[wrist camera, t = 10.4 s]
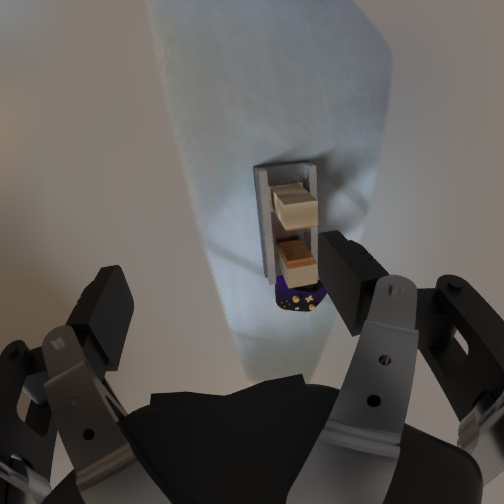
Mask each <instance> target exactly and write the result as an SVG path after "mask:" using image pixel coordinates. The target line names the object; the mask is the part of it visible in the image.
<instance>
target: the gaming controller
mask: <svg viewBox="0 0 504 504" xmlns="http://www.w3.org/2000/svg"><path fill="white" fill-rule="evenodd" d="M326 294H327V291H326V290H325V288H324V286H323V285H322V283H321V281H320V280H319V281H318V282H317V284H316V285H315V287H314V288H313V290H311V289H303V288H296V287H294V288H288V286H287V284H286V281H285V279H284V277H283V275H279V276H277V277H276V284H275V295H276V303H277V306H278V307H279V308H280V309H282V310H285V311H286V310H292V311H302V312H309V311H312V310H314V309H315V308H316V306H317V305H318V304H319V303H320V302H321V301H322V299H323V298H324V297H325V295H326Z"/></svg>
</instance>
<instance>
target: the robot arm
mask: <svg viewBox="0 0 504 504" xmlns="http://www.w3.org/2000/svg"><path fill="white" fill-rule="evenodd" d="M318 274H319V278H320V281H321V283H322V285H323V286H324V288H325V290H326V291H327V293H328V295H329V296H330V298H331V300H332V302H333V303H334V305H335V307H336V309H337V310H338V312H339V314H340V315H341V317H342V319H343V321H344V322H345V324H346V326H347V328H348V330H349V331H350V333H351V335H352V336H356V335H360V337H359V340H358V343H357V346H356V349H355V352H354V355H353V358H352V361H351V363H350V366H349V369H348V372H347V374H346V377H345V380H344V382H343V385H342V387H341V390H339V389H336V388H333V387H330V386H324V385H318V384H305V381H304V378H303V375H302V374H298V375H293V376H289V377H284V378H279V379H274V380H268V381H264V382H261V383H259V384H256V385H254V386H251V387H248V388H246V389H243V390H240V391H238V392H235V393H232V394H229V395H225V396H221V395H211V394H202V393H193V392H173V393H157V394H156V393H154V394H151V400H150V405H147V406H144V407H142V408H139V409H137V410H135V411H133V412H132V413H130V414H128V413H127V412H126V410H125V409H124V407H123V406H122V404H121V402H120V401H119V400H118V398H117V396H116V394H115V393H114V391H113V389H112V388H111V386H110V384H109V383H108V381H107V380H106V378H105V377H104V376H105V372H106V371H117V370H118V366H119V362H120V358H121V353H122V350H123V346H124V343H125V339H126V335H127V332H128V328H129V325H130V321H131V318H132V315H133V311H134V301H133V297H132V294H131V292H130V289H129V287H128V284H127V282H126V279H125V276H124V274H123V271H122V269H121V267H120V266H119V265H114V266H108V267H102V268H101V269H100V270H99V272H98V274H97V276H96V277H95V280H94V281H92V282H91V283H90V284H89V285H88V286H87V287H86V288H85V289H84V291H83V292H82V294H81V296H80V299H79V300H78V301H77V305H75V307H74V309H73V311H72V313H71V315H70V317H69V318H68V321H67V322H66V324H65V325H63V326H59V327H56V328H54V329H53V330H51V331H50V332H49V333H48V334H47V335H46V336H45V338H44V339H43V342H42V346H41V347H38V348H35V349H32V350H29V348H28V347H27V345H26V344H25V342H23V341H22V340H16V341H13V342H12V343H10V344H9V345H7V346H6V347H5V349H4V350H3V352H2V353H1V355H0V504H481V500H482V492H483V486H485V485H486V484H487V483H489V482H490V481H491V480H493V479H494V478H495V477H496V476H498V475H499V474H500V473H501V472H502V471H504V321H503V319H501V317H500V316H499V315H498V314H497V313H496V312H495V310H494V309H492V307H491V306H490V305H489V304H488V303H487V302H486V301H485V300H484V298H483V297H481V295H480V294H479V293H478V292H477V291H476V290H475V289H474V288H473V287H472V286H471V285H470V284H469V283H468V282H467V281H466V280H464V279H462V278H461V277H458V276H455V275H443V276H441V277H439V278H438V280H437V283H436V287H435V288H425V289H417V287H416V285H415V284H414V283H413V282H412V281H411V280H409V279H407V278H406V277H403V276H399V275H389V273H388V272H387V271H386V270H385V269H384V268H383V267H382V266H381V265H380V264H379V263H378V262H377V261H376V260H375V259H374V258H373V256H372V255H371V254H370V253H368V251H367V250H366V249H365V248H364V247H363V246H362V245H360V244H358V243H356V242H354V241H352V240H349V241H348V240H347V239H346V238H345V237H344V236H343V235H342V234H341V233H340V232H339V231H338V230H335V231H328V232H322V233H319V235H318ZM456 330H458V331H459V332H460V334H461V335H462V336H463V338H464V339H465V340H466V342H467V344H468V348H469V351H468V356H467V354H466V353H465V351H464V350H463V348H462V347H461V346H460V344H459V343H458V341H457V340H456V339H455V337H454V335H455V333H456ZM417 349H419V350H420V352H421V353H422V355H423V357H424V358H425V360H426V362H427V363H428V365H429V367H430V368H431V370H432V372H433V373H434V375H435V377H436V379H437V380H438V382H439V384H440V386H441V388H442V389H443V391H444V393H445V395H446V397H447V398H448V400H449V402H450V404H451V406H452V408H453V410H454V411H455V414H456V415H457V417H458V419H459V421H460V425H459V430H458V437H459V439H458V441H457V446H458V447H457V446H454V445H452V444H450V443H447V442H445V441H443V440H440V439H438V438H436V437H434V436H431V435H429V434H427V433H425V432H423V431H421V430H418V429H416V428H414V427H412V426H410V425H408V424H406V423H404V422H405V418H406V414H407V409H408V405H409V399H410V394H411V389H412V383H413V376H414V370H415V363H416V356H417ZM22 389H23V390H24V392H25V393H26V394H27V395H28V396H29V397H30V398H31V402H30V405H29V408H28V412H27V415H26V419H25V423H24V422H23V421H22V420H21V419H20V418H19V416H18V414H17V408H16V407H17V403H18V400H19V397H20V394H21V391H22ZM57 431H58V432H59V435H60V437H61V439H62V442H63V445H64V447H65V449H66V452H67V454H68V456H69V458H70V461H71V463H72V465H73V467H74V469H73V470H72V471H71V472H70V473H69V474H68V475H67V476H66V477H65V478H64V479H63V480H62V481H61V482H60V483H59V484H58V485H57V486H56V487H55V488H54V489H53V490H52V489H51V486H50V476H51V468H52V460H53V453H54V447H55V441H56V436H57Z"/></svg>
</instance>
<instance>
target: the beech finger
mask: <svg viewBox="0 0 504 504" xmlns="http://www.w3.org/2000/svg"><path fill="white" fill-rule="evenodd" d="M272 200H273V210H274V211H275V213H276V215H277V217H278V219H279V220H280V222H281V224H282V225H283V227H284V229H285V230H286V231H290V230H297V229H303V228H310V227H315V225H318V200H317V199H315V198H314V197H313V196H312V195H311V194H310V193H309V192H308V191H306V190H305V189H304V188H303V187H302V186H301V185H296V186H287V187H280V188H272Z"/></svg>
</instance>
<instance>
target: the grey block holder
mask: <svg viewBox="0 0 504 504" xmlns="http://www.w3.org/2000/svg"><path fill="white" fill-rule="evenodd" d="M253 172H254V182H255V191H256V200H257V209H258V219H259V228H260V238H261V248H262V257H263V267H264V274H265V277H266V278H268V281H269V284H270V285H271V284H276V276H279V275H283V277H284V279H285V281H286V284H287V286H288V288H294V287H299V286H305V285H310V284H315V283H317V277H318V225H315V227H310V228H303V229H297V230H290V231H286V230H285V229H284V227H283V225H282V224H281V222H280V220H279V219H278V217H277V215H276V213H275V211H274V210H273V200H272V188H280V187H287V186H296V185H301V186H302V187H303V188H304V189H305V190H306V191H308V192H309V193H310V194H311V195H312V196H313V197H314V198H315V199H317V174H316V165H314V164H313V162H311V161H300V162H289V163H279V164H270V165H262V166H254V167H253Z"/></svg>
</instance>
